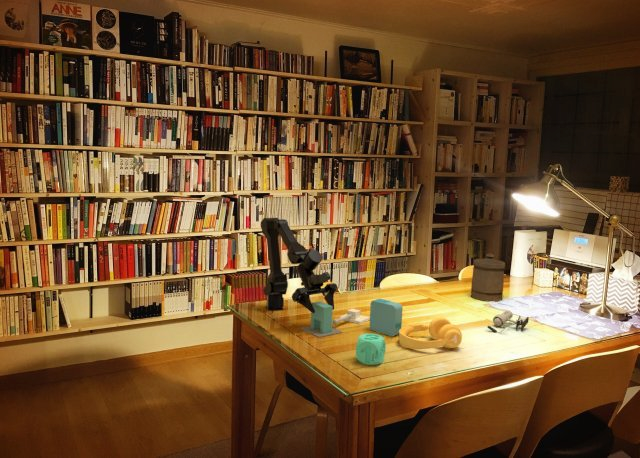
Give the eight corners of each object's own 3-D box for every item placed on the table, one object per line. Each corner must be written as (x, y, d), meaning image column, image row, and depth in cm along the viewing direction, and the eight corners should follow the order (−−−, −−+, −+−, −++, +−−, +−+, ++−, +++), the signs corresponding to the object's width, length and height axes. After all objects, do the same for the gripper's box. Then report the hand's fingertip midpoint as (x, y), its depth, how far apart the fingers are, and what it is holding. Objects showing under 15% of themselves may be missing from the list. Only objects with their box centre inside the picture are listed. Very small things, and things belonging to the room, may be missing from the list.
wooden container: (505, 297, 274) (509, 253, 271) (497, 303, 261) (501, 257, 258) (475, 292, 281) (479, 249, 278) (466, 298, 269) (470, 253, 266)
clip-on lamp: (507, 344, 213) (530, 326, 224) (508, 329, 211) (532, 312, 222) (480, 333, 222) (504, 316, 233) (481, 319, 219) (505, 303, 231)
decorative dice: (355, 362, 180) (356, 339, 179) (362, 354, 188) (363, 332, 187) (378, 367, 178) (380, 342, 176) (385, 358, 185) (386, 335, 184)
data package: (401, 334, 210) (403, 304, 209) (394, 337, 207) (396, 306, 205) (376, 327, 218) (377, 297, 217) (369, 329, 215) (370, 299, 213)
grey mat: (300, 328, 213) (300, 327, 213) (322, 324, 220) (322, 323, 220) (318, 337, 204) (319, 336, 203) (342, 332, 210) (342, 331, 210)
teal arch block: (310, 327, 213) (311, 302, 212) (318, 326, 216) (319, 301, 215) (323, 333, 207) (324, 307, 206) (331, 331, 210) (332, 306, 208)
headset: (391, 337, 207) (393, 313, 206) (444, 336, 212) (446, 313, 210) (408, 354, 190) (410, 328, 189) (465, 353, 194) (468, 328, 193)
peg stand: (323, 325, 218) (324, 315, 217) (349, 314, 234) (349, 305, 233) (345, 330, 212) (345, 320, 212) (370, 319, 228) (370, 310, 228)
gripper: (297, 267, 206) (313, 303, 198) (336, 262, 217) (353, 296, 210) (284, 283, 213) (300, 318, 206) (323, 278, 224) (339, 311, 217)
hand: (323, 311), depth 209 cm, fingers open, 9 cm apart
